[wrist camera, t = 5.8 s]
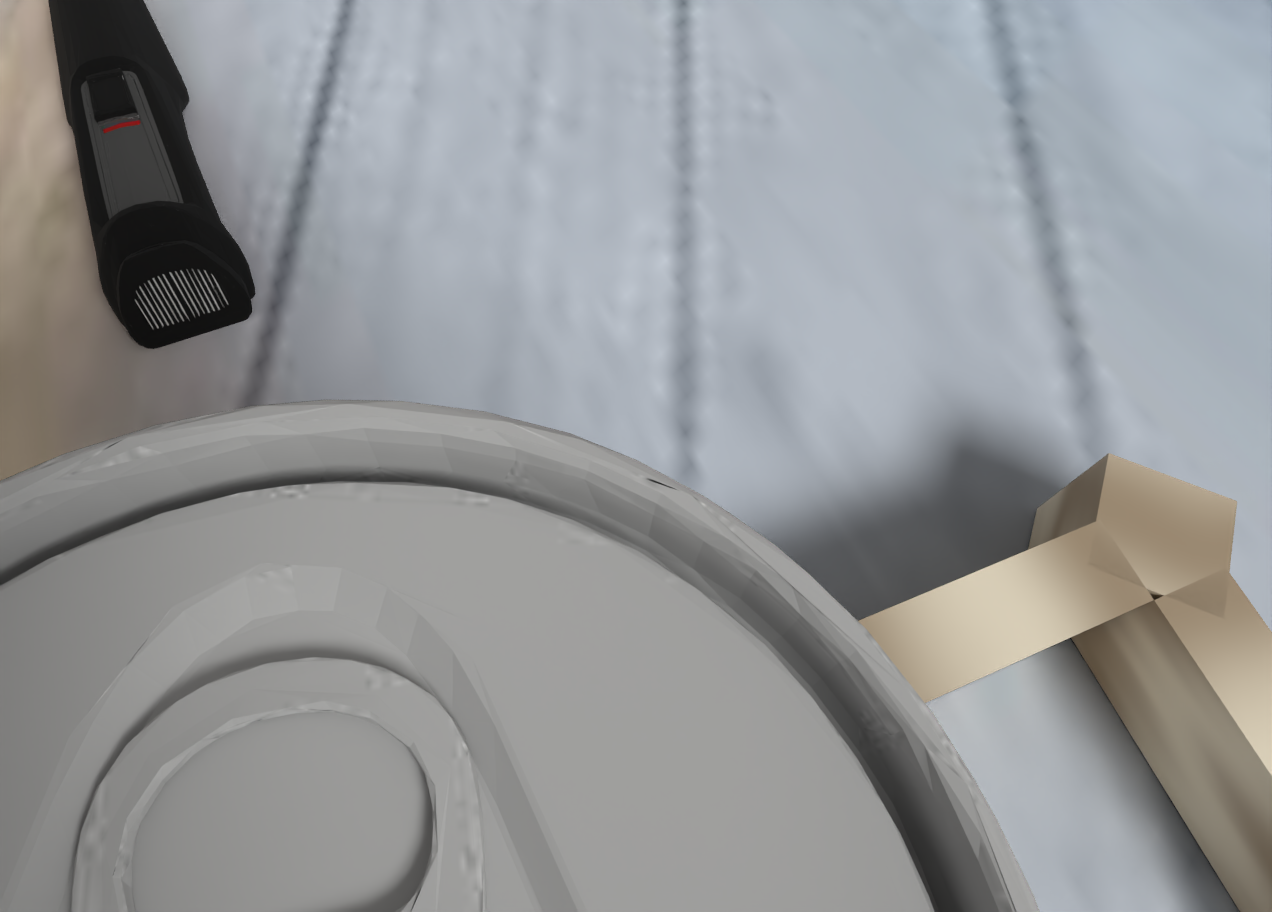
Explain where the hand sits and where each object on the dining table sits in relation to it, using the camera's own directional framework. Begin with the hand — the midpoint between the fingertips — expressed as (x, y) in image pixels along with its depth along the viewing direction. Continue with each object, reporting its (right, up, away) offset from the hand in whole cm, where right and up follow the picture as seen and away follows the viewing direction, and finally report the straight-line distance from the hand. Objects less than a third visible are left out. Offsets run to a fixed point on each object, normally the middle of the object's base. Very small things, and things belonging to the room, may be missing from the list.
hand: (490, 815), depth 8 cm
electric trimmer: (-14, +13, +19) cm, 27 cm away
